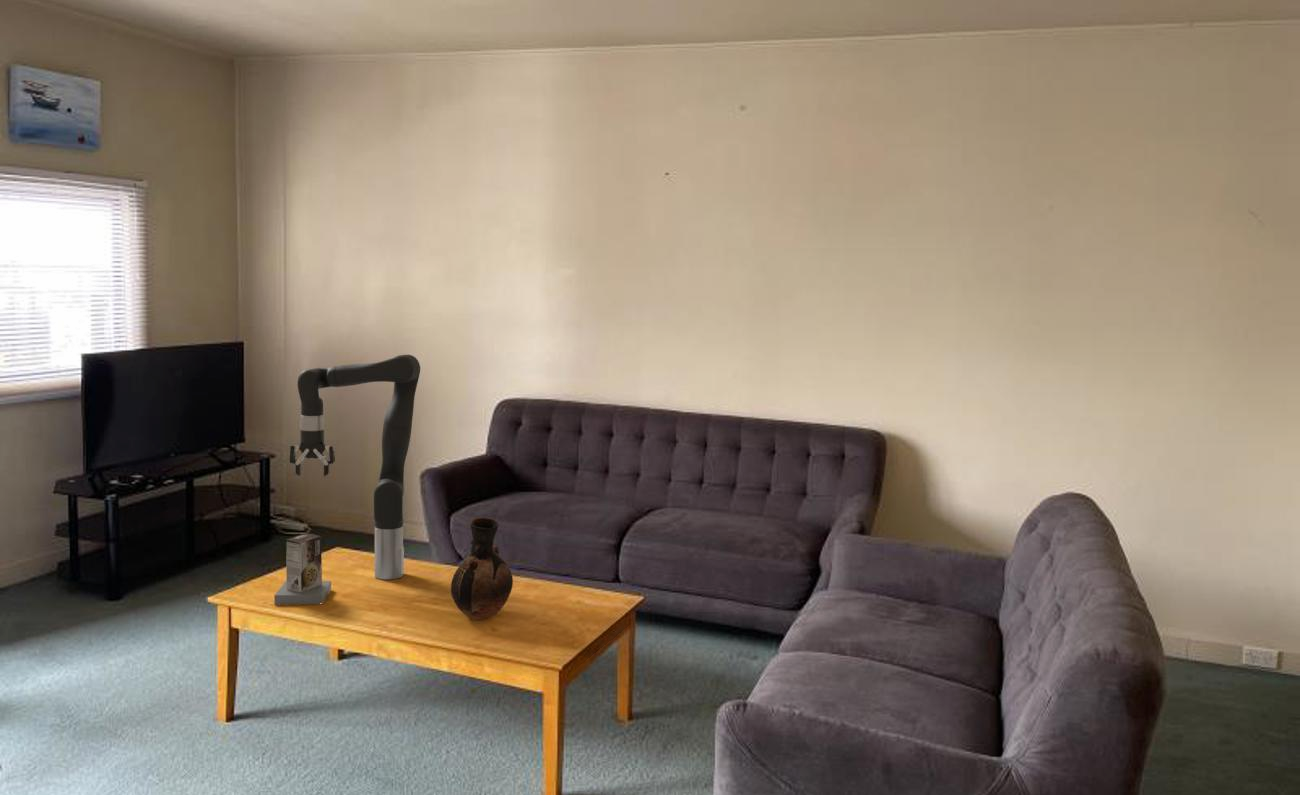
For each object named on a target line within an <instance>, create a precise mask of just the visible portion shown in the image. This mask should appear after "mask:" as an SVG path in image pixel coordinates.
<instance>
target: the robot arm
mask: <svg viewBox="0 0 1300 795" xmlns="http://www.w3.org/2000/svg"><path fill="white" fill-rule="evenodd" d="M420 374H421V364H420V361H419V360H418V359H417V357H416V356H414V355H412V354H401V355H396V356H394V357H391V358H388V359H385V360H382V361H377V362H372V363H355V364H351V363H350V364H344V365H343V364H342V365H341V364H340V365H334V366H330V367H315V368H314V367H313V368H309V369H305V370H302V371H301V372H300V373H299V375H298V377H297V390H298V391H297V392H298V395H299V400H300V422H299V423H300V428H299V429H300V431H299V432H300V435H299V436H300V442H299V443H300V444H299V445H296V444H292V445H291V446H290V448H289V450H290V451H289V452H290V454H289V463H290V464H294V465H295V474H296V475H297V476H298V477H301V476H302V464H301V463H302V462H303V460H304V459H305V458H306V459H319V460H320V461H321V462H322V464H324V465H323V476H324V477H327V476H328V475H329V473H330V465H332V464H334V463H335V461H336V455H335V453H336V452H335V445H333V444H331V445H325V419H324V400H323V399H322V398H321V397H320V395H319V389H325V388H326V389H327V388H331V387H332V388H342V387H350V386H351V387H352V386H357V385H362V384H369V383H378V382H389V383H393V384H394V385H393V393H392V397H391V401H390V403H389V405H388V407H387V410H386V413H385V416H384V420H383V424H382V434H381V454H382V455H381V456H382V463H381V469H380V474H379V478H378V482H377V484H376V487H375V489H374V491H373V492H374V493H373V520H374V578H376V579H378V580H397V579H402V578H403V576H404V573H405V567H404V566H405V563H404V561H405V554H404V553H405V547H404V518H403V517H404V515H403V504H404V503H403V499H404V498H403V497H404V492H405V490H404V489H405V486H404V483H405V482H404V480H405V479H404V477H405V474H404V472H405V463H406V458H407V455H408V452H409V448H410V447H409V446H410V441H411V435H412V426H413V416H414V405H415V397H416V391H417V388H418V382H419V379H420V378H419V377H420ZM298 450H299V452H301V455H300V456H299V457H298V459H296V452H297V451H298ZM325 450H326V451H327V453H329V459H328V458H327V455H325V453H324V452H325Z"/></svg>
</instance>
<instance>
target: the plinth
mask: <svg viewBox="0 0 1300 795" xmlns="http://www.w3.org/2000/svg"><path fill="white" fill-rule="evenodd" d="M330 590H331V591H332V581H331V580H329V581H328V580H322V585H320V586H317V587H315V588H312V589H310V590H307V591H304V592H302V593H300V592H296V591H291V590H287V580H286V581H284V582H283V584H282V585H281V586H280V588H278V590H277V592H276V593H274V595H273V596H274V597H273V598H274V605H275V604H315V605H321V604H320V603H322V602H323V601H324V599H325V598H326V599H327V597H328V596H329V594H330V593H331V591H330ZM329 592H330V593H329ZM328 593H329V594H328ZM327 595H328V596H327ZM326 596H327V597H326ZM326 599H325V600H326ZM324 602H325V601H324ZM324 602H323V603H324Z"/></svg>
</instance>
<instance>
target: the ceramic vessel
mask: <svg viewBox="0 0 1300 795" xmlns="http://www.w3.org/2000/svg"><path fill="white" fill-rule="evenodd" d="M469 524H470V529H471V530H470V531H471V534H472V540H471V542H470V544H471V547H470V548H471V549H470V555H469V556H468V557H466V558H465V559H464V560H463V561H462V562H461V564H460V565H459V566H458V567H457V569H456V570H455V572H454V574H453V577H452V579H451V583H450V593H451V597H452V600H453V602H454V604H455V606H456V607H457V608H458V610H459V611H460V612H461V613H462V614H463V615H465V617H467V618H468V619H471V620H474V621H475V620H482V619H487V618H491V617H493V616H495V615H497V614H498V613H499V612H500V611H501V609H502V608H503V607H504V606H505V604H506V603H507V601H508V599H509V598H510V595H511V592H512V590H513V585H514V581H513V580H514V578H513V574H512V571H511V569H510V567H509V565H508V563H507V562H506V561H505V559H503V558H502V557H501V556H500V554H499V547H498V546H497V545H494V540H495V537H496V534H497V531H498V529H499V523H498V522H497V521H496V520H495V519H493V518H489V517H477V518H475V517H474V518H473V519H472V520H470V523H469Z"/></svg>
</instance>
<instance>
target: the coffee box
mask: <svg viewBox="0 0 1300 795" xmlns="http://www.w3.org/2000/svg"><path fill="white" fill-rule="evenodd" d="M285 553H286V554H285V557H286V558H285V559H286V560H285V561H286V563H285V564H286V565H285V566H286V567H285V569H286V581H287V590H291V591H296V592H300V593H302V592H304V591H307V590H310V589H312V588H315V587H317V586H320V585H322V581H323V574H322V573H323V569H322V566H323V565H322V559H323V558H322V535H316V534H313V533H307V532H306V533H304V534H303V533H302V534H300V535H296V536H293V537H290V538H288V539H285Z"/></svg>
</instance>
